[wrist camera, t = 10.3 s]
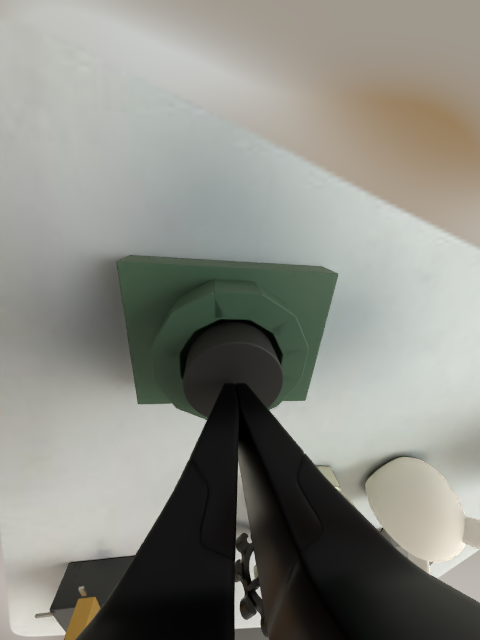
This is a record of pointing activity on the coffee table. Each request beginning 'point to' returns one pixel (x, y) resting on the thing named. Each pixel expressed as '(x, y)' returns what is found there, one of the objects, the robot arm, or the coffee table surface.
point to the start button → (231, 365)
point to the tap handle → (82, 616)
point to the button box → (219, 317)
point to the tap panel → (86, 586)
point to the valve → (242, 567)
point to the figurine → (420, 511)
